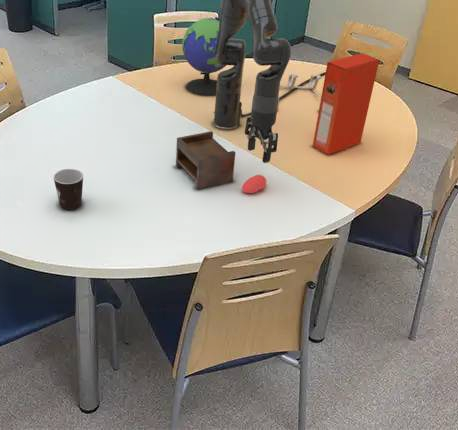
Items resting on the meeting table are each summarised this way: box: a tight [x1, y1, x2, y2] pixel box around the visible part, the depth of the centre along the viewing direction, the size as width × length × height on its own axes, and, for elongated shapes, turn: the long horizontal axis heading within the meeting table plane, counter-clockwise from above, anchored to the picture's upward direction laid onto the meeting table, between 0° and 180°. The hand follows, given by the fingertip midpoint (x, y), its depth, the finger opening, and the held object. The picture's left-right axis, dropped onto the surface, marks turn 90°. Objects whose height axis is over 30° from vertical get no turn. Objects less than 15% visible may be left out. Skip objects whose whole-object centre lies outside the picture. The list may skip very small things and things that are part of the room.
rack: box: [175, 130, 236, 191], centre depth 192 cm, size 13×16×11 cm
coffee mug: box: [53, 168, 84, 212], centre depth 173 cm, size 12×9×10 cm
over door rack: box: [277, 72, 322, 111], centre depth 247 cm, size 22×29×10 cm
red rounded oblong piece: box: [241, 174, 267, 194], centre depth 187 cm, size 5×9×6 cm, turn 120°
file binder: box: [312, 53, 380, 155], centre depth 207 cm, size 8×17×32 cm, turn 125°
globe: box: [181, 16, 235, 97], centre depth 247 cm, size 22×22×30 cm
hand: (258, 155), depth 181 cm, fingers open, 8 cm apart
